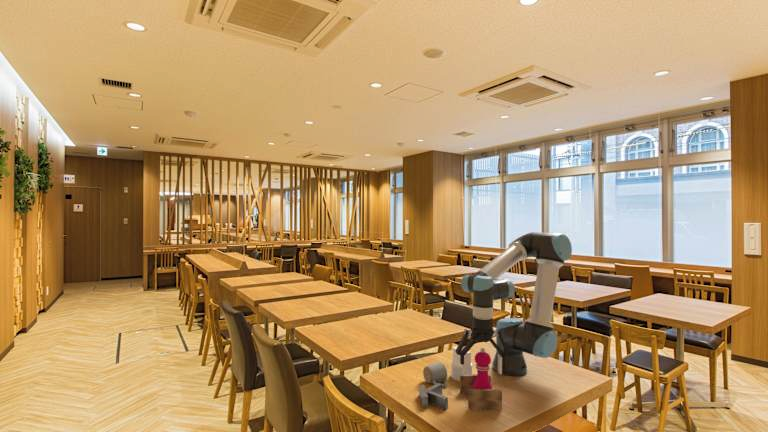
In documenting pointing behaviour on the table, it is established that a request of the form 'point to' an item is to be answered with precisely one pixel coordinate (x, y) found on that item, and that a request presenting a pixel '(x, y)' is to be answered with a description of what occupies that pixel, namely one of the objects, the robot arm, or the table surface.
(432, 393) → the letter k block
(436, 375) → the ceramic mug
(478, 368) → the pepper mill
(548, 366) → the table surface
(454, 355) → the base with upright slab
